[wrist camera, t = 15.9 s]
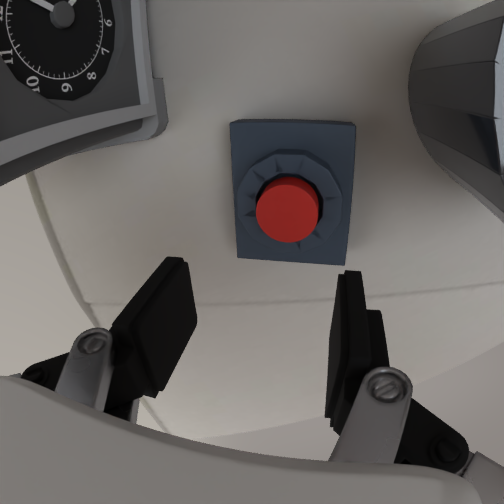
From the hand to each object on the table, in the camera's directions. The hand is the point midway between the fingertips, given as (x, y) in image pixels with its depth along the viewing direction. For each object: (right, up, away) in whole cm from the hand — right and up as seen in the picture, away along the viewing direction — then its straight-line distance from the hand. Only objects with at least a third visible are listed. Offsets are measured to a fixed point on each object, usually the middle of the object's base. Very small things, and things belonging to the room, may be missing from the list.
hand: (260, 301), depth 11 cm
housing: (+3, +6, +12) cm, 13 cm away
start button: (+2, +5, +8) cm, 10 cm away
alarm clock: (-14, +19, +9) cm, 25 cm away
